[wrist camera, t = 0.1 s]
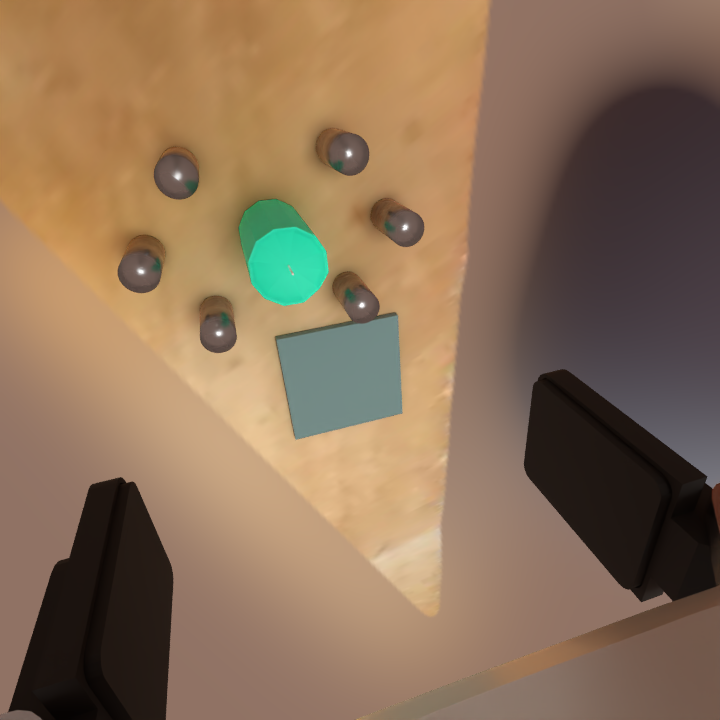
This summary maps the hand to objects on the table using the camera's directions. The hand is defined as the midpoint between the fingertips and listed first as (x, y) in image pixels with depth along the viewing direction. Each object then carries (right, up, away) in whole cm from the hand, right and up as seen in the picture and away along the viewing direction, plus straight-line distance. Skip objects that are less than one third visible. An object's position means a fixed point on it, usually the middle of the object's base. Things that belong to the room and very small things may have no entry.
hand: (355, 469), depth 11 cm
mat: (-2, +1, +43) cm, 43 cm away
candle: (-8, +14, +33) cm, 37 cm away
